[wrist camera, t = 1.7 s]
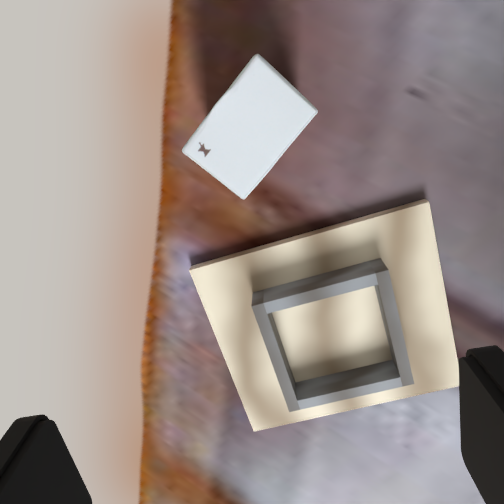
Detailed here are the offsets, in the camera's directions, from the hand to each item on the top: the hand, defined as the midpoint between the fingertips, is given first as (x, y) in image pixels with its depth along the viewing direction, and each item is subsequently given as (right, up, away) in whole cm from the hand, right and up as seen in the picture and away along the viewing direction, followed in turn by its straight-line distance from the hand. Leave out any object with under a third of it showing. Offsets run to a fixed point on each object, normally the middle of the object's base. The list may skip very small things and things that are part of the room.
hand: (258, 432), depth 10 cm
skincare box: (0, +14, +23) cm, 27 cm away
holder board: (+7, -2, +28) cm, 29 cm away
